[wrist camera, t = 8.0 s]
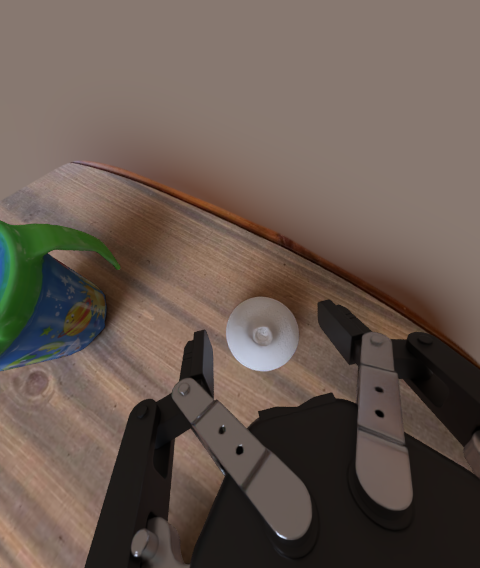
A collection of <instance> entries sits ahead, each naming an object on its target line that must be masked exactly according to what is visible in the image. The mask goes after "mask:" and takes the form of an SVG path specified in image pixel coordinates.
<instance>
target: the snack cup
mask: <svg viewBox="0 0 480 568" xmlns="http://www.w3.org/2000/svg"><path fill="white" fill-rule="evenodd" d="M53 250H74V251H75V250H79V251H84V250H85V251H96V252H97V253H99V254H100V255H101V256H102V257H104V258H105V259H106V260H107V261H109V262H110V263H112V264H113V266H114V267H115V268H116V269H117V270H119V269H120V265H119V264H118V262H117V261H116V259H115V258H114V256H113V255H112V253H111V252H110V251H109V249H108V248H107V247H106V246H105V244H104V243H103V242H102V241H100V240H99V239H97V238H96V237H94V236H91V235H89V234H87V233H84V232H82V231H78V230H75V229H72V228H68V227H64V226H58V225H50V224H26V225H10V224H7V223H5V222H3V221H0V371H4V370H9V369H13V368H18V367H22V366H26V365H31V364H35V363H40V362H44V361H47V360H52V359H57V358H61V357H65V356H68V355H72V354H73V353H75V352H77V351H81V350H82V349H84V348H85V347H86V346H88V344H90V343H91V342H92V341H93V339H94V338H95V337H96V336H97V335H98V334H99V333H100V332H101V331H102V330H103V329H104V327H105V323H104V322H105V318H106V309H107V305H106V300H105V295H104V294H103V292H102V291H101V290H100V289H99V288H98V287H97V286H96V285H95V284H93V283H92V282H91V281H89V280H87V279H86V278H84V277H82V276H81V275H79V274H78V273H77V272H75V271H74V270H72V269H70V268H69V267H67V266H66V265H64V264H63V263H61V262H60V261H58V260H56V259H55V258H53V257H52V256H51V255H49V254H48V252H50V251H53Z"/></svg>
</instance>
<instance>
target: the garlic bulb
mask: <svg viewBox="0 0 480 568" xmlns="http://www.w3.org/2000/svg"><path fill="white" fill-rule="evenodd" d="M226 338H227V342H228V346H229V348H230V350H231V352H232V354H233V355H234V357H235V358H236V359H237V360H238V361H239V362H240V363H241V364H243V365H244V366H246V367H248V368H250V369H252V370H257V371H270V370H274V369H277V368H279V367H281V366H282V365H284V364H285V363H286V362H288V361H289V359H290V358H291V357H292V356H293V354H294V352H295V351H296V348H297V345H298V341H299V328H298V324H297V321H296V319H295V317H294V315H293V314H292V312H291V311H290V310H289V309H288V308H287V307H286V306H285V305H284V304H282V303H281V302H279V301H277V300H275V299H272V298H268V297H261V296H260V297H254V298H250V299H247V300H245V301H243V302H242V303H240V304H239V305H238V306H237V307H236V308H235V309H234V310H233V312H232V313H231V315H230V317H229V319H228V322H227V328H226Z"/></svg>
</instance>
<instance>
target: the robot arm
mask: <svg viewBox="0 0 480 568" xmlns="http://www.w3.org/2000/svg"><path fill="white" fill-rule="evenodd" d="M318 323H319V325H320V327H321V329H322V330H323V331H324V333H325V334H326V335H327V337H328V338H329V339H330V341H331V342H332V343H333V345H334V346H335V347H336V348H337V350H338V351H339V352H340V354H341V355H342V356H343V358H344V359H345V360H346V362H347V363H348V364H349V365H351V364H355V363H356V364H357V365H358V376H357V390H356V402H355V403H354V402H351V401H348V400H344V399H336V398H335V397H334V395H333V393H328V394H324V395H320V396H316V397H313V398H312V399H310V400H308V401H307V402H305V403H303V404H302V405H300V406H298V407H273V408H270V409H266V410H262V411H258V413H259V418H258V419H256V420H255V421H254V422H253V423H251V424H250V426H249V427H248V428H246V427H245V426H244V425H243V424H242V423H241V422H240V421H239V420H238V419H237V418H236V417H235V416H234V415H233V414H232V413H231V412H230V411H229V410H228V409H227V408H226V407H225V406H224V405H223V404H222V403H221V402H219V401H218V400H214V379H213V350H212V345H211V343H210V340H209V337H208V334H207V332H206V330H201V331H197V332H194V339H193V340H192V341H188V343H187V344H186V346H185V348H184V355H183V361H182V366H181V373H180V379H179V382H178V383H177V384H176V385H175V386H174V388H173V390H172V393H170V394H169V395H168V396H166V397H164V398H162V399H161V400H159V401H157V402H155V401H154V400H153V399H146V400H143V401H141V402H140V403H138V404H137V405H136V406H135V407H134V408H133V410H132V411H131V413H130V415H129V418H128V422H127V425H126V428H125V432H124V435H123V439H122V442H121V445H120V449H119V452H118V456H117V459H116V462H115V466H114V469H113V473H112V476H111V479H110V483H109V486H108V490H107V493H106V496H105V500H104V503H103V506H102V510H101V513H100V517H99V520H98V523H97V527H96V530H95V534H94V537H93V540H92V544H91V547H90V551H89V554H88V557H87V561H86V564H85V568H480V370H479V369H478V368H477V367H475V366H474V365H473V364H471V363H470V362H469V361H467V360H466V359H465V358H463V357H462V356H461V355H459V354H458V353H456V352H455V351H454V350H452V349H451V348H450V347H448V346H447V345H446V344H444V343H443V342H442V341H440V340H439V339H438V338H436V337H434V336H432V335H430V334H427V333H423V332H413V333H410V334H409V335H408V337H407V340H401V339H389V338H388V337H387V336H385V335H383V334H381V333H377V332H372V331H371V330H370V329H369V328H368V327H366V326H365V325H364V324H363V323H362V322H361V321H360V320H359V319H358V318H356V316H355V315H353V314H352V313H351V312H350V311H349V310H348V309H347V308H345V307H343V306H341V305H335V304H334V303H333V302H332V301H331V300H329V299H328V300H324V301H320V302H318ZM398 379H403V380H404V381H405V382H406V383H407V384H408V385H409V386H410V388H411V389H412V390H413V391H414V392H415V393H416V394H417V395H418V396H419V398H420V399H421V400H422V401H423V402H424V403H425V404H426V405H427V406H428V408H429V409H430V410H431V411H432V412H433V413H434V414H435V415H436V417H437V418H438V419H439V420H440V421H441V422H442V423H443V424H444V425H445V427H446V428H447V429H448V430H449V431H450V432H451V433H452V434H453V435H454V437H455V438H456V439H457V440H458V441H459V442H460V443H461V444H462V445H463V447H464V449H463V453H464V457H465V459H466V461H467V463H468V464H469V465H470V467H471V469H472V472H473V473H474V474H473V473H472V472H470V471H469V470H467V469H466V468H464V467H462V466H461V465H459V464H457V463H456V462H454V461H452V460H451V459H449V458H447V457H446V456H444V455H442V454H441V453H439V452H437V451H435V450H434V449H432V448H430V447H429V446H427V445H425V444H424V443H422V442H420V441H419V440H417V439H415V438H414V437H412V436H410V435H409V434H407V433H405V432H404V428H403V418H402V409H401V399H400V390H399V380H398ZM190 428H191V430H192V431H193V432H194V434H195V435H196V437H197V438H198V439H199V441H200V442H201V443H202V445H203V446H204V448H205V449H206V450H207V452H208V453H209V455H210V456H211V458H212V459H213V461H214V462H215V464H216V465H217V466H218V468H219V469H220V471H221V472H222V473H223V475H224V476H225V477H224V480H223V482H222V484H221V487H220V489H219V491H218V493H217V496H216V498H215V500H214V503H213V505H212V507H211V510H210V512H209V514H208V517H207V519H206V521H205V524H204V526H203V528H202V531H201V533H200V535H199V538H198V540H197V542H196V545H195V548H194V551H193V554H192V558H191V562H190V564H185V563H184V561H183V559H182V556H181V548H180V537H179V534H178V532H177V530H176V529H175V528H174V527H173V526H172V525H171V524H170V523H168V512H169V501H170V489H171V478H172V466H173V455H174V443H175V438H176V437H178V436H179V435H181V434H182V433H184V432H185V431H187V430H189V429H190Z"/></svg>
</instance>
